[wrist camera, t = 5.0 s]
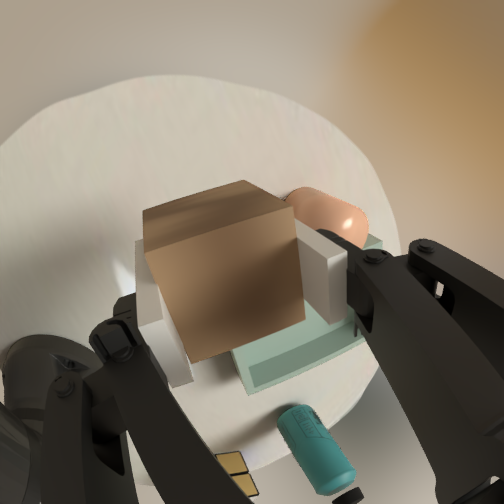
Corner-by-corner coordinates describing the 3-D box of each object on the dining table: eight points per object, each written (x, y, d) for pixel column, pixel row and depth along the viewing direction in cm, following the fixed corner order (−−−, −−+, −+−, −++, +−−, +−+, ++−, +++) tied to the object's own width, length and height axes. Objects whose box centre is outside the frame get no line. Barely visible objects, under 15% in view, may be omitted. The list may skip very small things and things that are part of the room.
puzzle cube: (230, 472, 47) (246, 511, 39) (181, 477, 43) (194, 520, 35) (240, 450, 44) (260, 494, 36) (185, 456, 40) (200, 505, 31)
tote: (237, 372, 35) (248, 395, 32) (207, 281, 29) (217, 303, 25) (358, 319, 39) (375, 335, 36) (359, 228, 33) (382, 241, 29)
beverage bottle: (264, 420, 42) (320, 522, 25) (288, 394, 41) (356, 499, 24) (292, 422, 45) (348, 511, 28) (315, 397, 44) (381, 488, 27)
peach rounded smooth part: (284, 241, 30) (321, 271, 24) (277, 193, 28) (317, 214, 22) (326, 227, 31) (368, 252, 25) (322, 181, 29) (368, 199, 23)
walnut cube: (174, 298, 15) (191, 363, 11) (142, 210, 13) (144, 253, 9) (261, 268, 16) (305, 319, 12) (244, 179, 14) (292, 205, 10)
